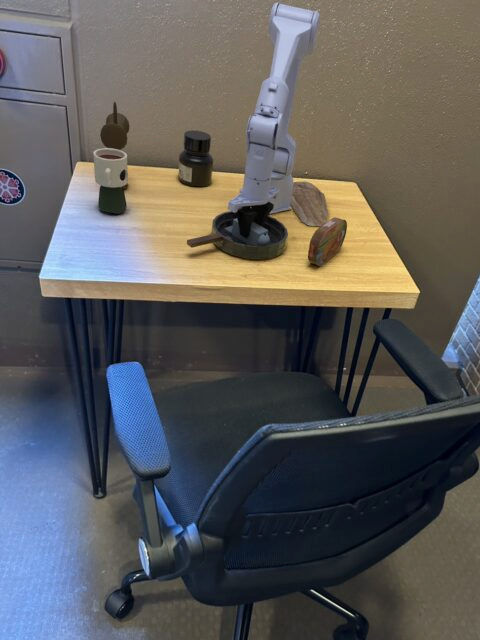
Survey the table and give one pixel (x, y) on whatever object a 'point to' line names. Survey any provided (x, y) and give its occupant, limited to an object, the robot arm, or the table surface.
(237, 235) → the grey flat-sided piece
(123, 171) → the character mug
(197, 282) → the table surface
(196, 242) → the pan handle
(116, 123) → the kendama
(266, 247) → the pan
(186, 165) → the ink bottle
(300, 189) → the fish fossil
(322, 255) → the tin
